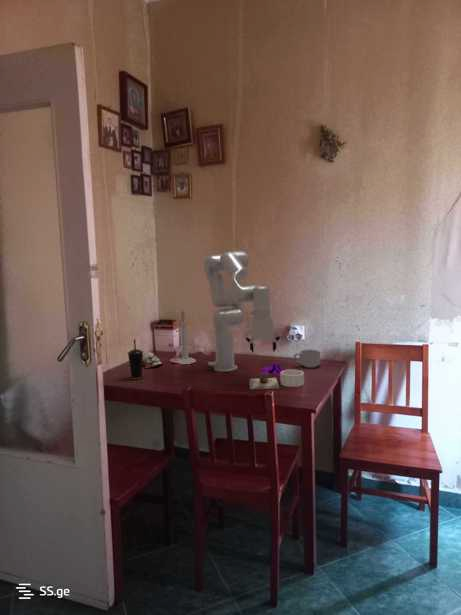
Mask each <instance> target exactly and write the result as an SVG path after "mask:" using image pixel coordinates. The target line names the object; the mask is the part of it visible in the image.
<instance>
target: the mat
mask: <svg viewBox="0 0 461 615" xmlns="http://www.w3.org/2000/svg"><path fill="white" fill-rule="evenodd" d="M248 382H249V389H250V390H252V389H251V383H250V379H249V381H248ZM277 384H278V388H277V389H280V387H279V383H278V381H277ZM263 389H268V390H270V388H254V389H253V390H263Z"/></svg>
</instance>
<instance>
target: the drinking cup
mask: <svg viewBox="0 0 461 615" xmlns="http://www.w3.org/2000/svg"><path fill="white" fill-rule="evenodd" d="M133 346H134V349H132V350H129V351H128V352H127V355H128V362H129V368H130V373H131V379H132V378H139V377H142V378H143V368H142V367H143V364H142V359H143V356H144V355H143V354H144V351H143V350H141V349H137V348H136V347H137V346H136V339H133Z"/></svg>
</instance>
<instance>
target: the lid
mask: <svg viewBox="0 0 461 615" xmlns="http://www.w3.org/2000/svg"><path fill="white" fill-rule="evenodd" d="M249 380H250V383H251V389H250V390H255V389H254V388H269V389H279V388H278V386H279V383H278V384H277V382H278V380H277V377H268V375H267V373H265V372H264V371H262V372H259V378H250V379H249Z"/></svg>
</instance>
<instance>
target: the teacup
mask: <svg viewBox="0 0 461 615" xmlns="http://www.w3.org/2000/svg"><path fill="white" fill-rule="evenodd" d="M321 354H322V352H321V351H320V350H316V349H311V348H310V349H309V348H308V349H302V350H300V351H299V352H295V353H294V355H293V359H294V360H295V362H297V363H298V364H301V365H302V367H304V368H307V369H313V368H317V367H318V366H319V365H320V364H321ZM297 356H299V359H297Z"/></svg>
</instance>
